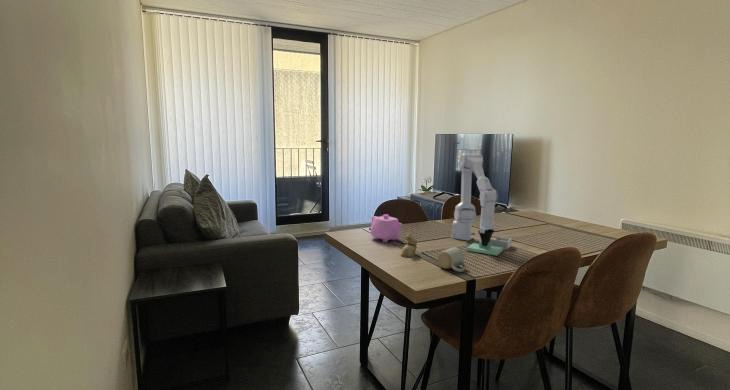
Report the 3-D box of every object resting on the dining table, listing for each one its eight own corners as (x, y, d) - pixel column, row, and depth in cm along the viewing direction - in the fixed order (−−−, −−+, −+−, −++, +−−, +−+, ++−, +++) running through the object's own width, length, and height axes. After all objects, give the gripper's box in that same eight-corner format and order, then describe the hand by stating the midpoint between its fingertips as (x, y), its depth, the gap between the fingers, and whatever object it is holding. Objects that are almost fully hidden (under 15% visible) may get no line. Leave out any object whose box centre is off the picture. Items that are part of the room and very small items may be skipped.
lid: (466, 250, 180) (467, 242, 180) (473, 245, 188) (473, 238, 188) (497, 255, 173) (497, 247, 172) (502, 250, 181) (503, 242, 180)
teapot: (363, 237, 200) (363, 213, 199) (380, 233, 209) (381, 210, 207) (391, 246, 186) (392, 219, 184) (408, 241, 194) (409, 216, 192)
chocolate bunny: (419, 256, 171) (420, 233, 169) (402, 256, 169) (402, 234, 168) (415, 252, 176) (416, 230, 175) (398, 253, 175) (399, 231, 173)
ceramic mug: (435, 266, 157) (436, 248, 156) (448, 262, 162) (449, 244, 161) (457, 274, 149) (458, 255, 148) (470, 270, 154) (471, 251, 153)
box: (481, 246, 189) (481, 237, 189) (486, 242, 196) (486, 234, 195) (507, 250, 183) (507, 242, 182) (511, 246, 189) (511, 238, 189)
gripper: (491, 220, 170) (489, 250, 172) (500, 215, 182) (498, 243, 184) (475, 218, 174) (473, 247, 176) (485, 213, 186) (483, 241, 188)
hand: (485, 245), depth 180 cm, fingers closed on lid, 2 cm apart
